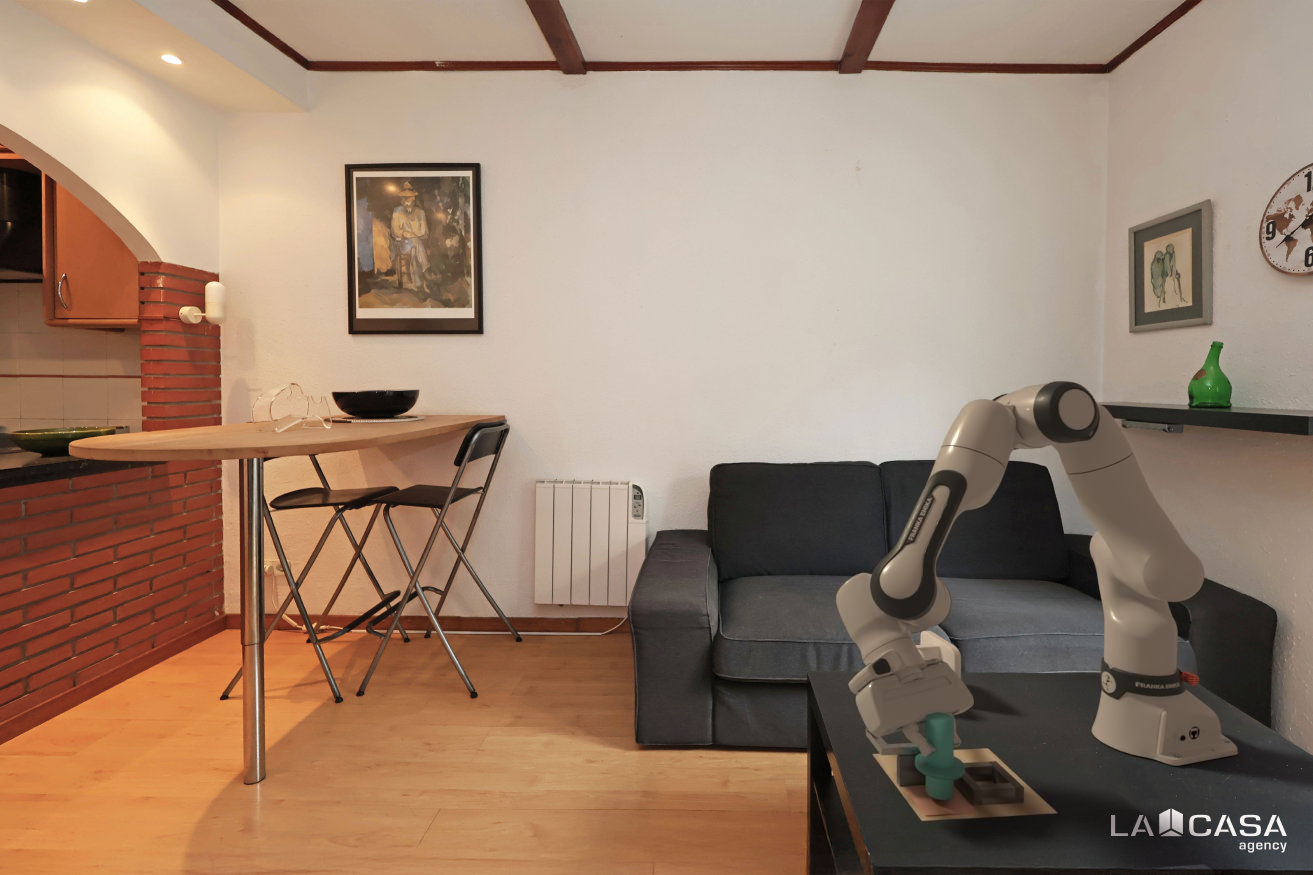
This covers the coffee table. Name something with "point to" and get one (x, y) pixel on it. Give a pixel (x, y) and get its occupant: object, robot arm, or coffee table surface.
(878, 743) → the lever
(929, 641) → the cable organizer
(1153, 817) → the coffee table surface
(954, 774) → the plug
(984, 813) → the socket board
